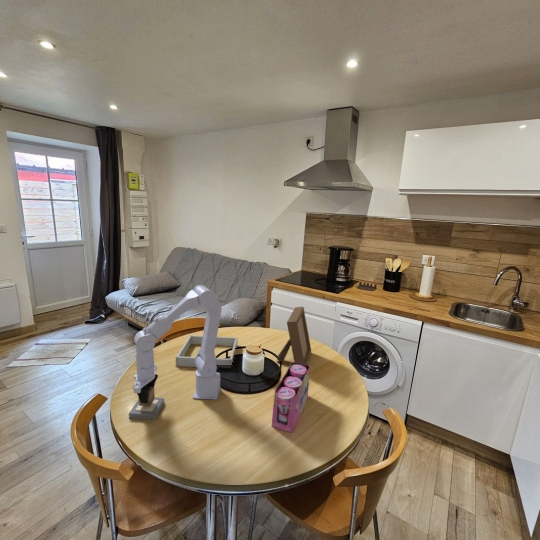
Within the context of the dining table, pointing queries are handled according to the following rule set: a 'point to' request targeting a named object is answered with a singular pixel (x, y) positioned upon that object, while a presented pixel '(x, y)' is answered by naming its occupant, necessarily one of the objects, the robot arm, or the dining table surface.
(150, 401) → the walnut block
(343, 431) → the dining table surface
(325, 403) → the dining table surface
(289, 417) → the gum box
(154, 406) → the plate
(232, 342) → the grey corral
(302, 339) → the photo frame
